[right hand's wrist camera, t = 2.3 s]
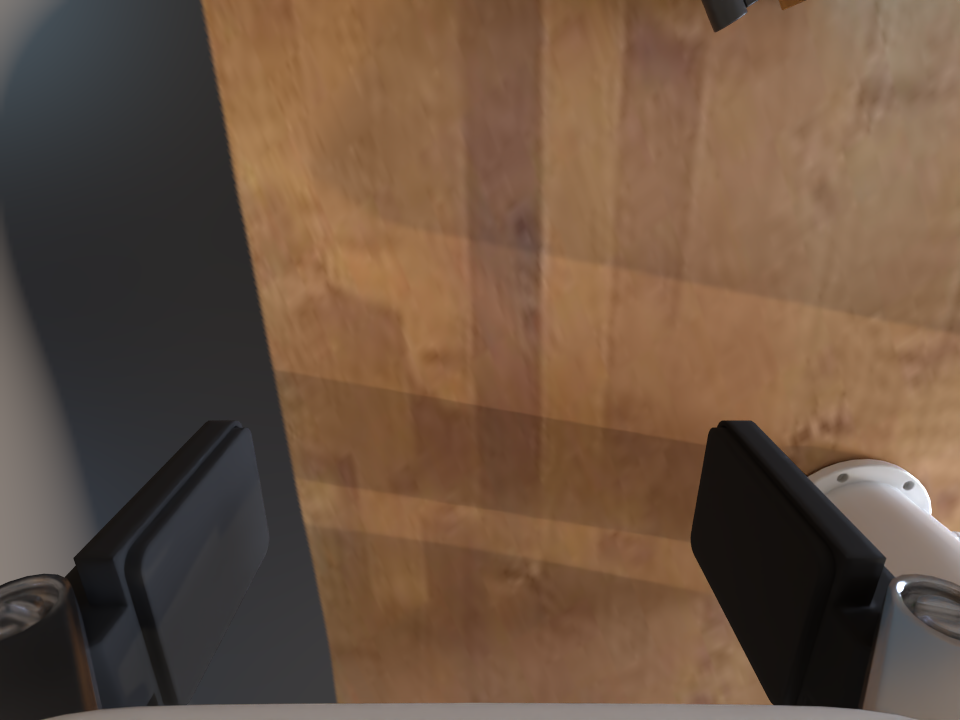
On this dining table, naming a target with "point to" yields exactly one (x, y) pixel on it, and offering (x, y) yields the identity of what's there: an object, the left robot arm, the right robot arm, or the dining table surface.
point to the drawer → (733, 10)
